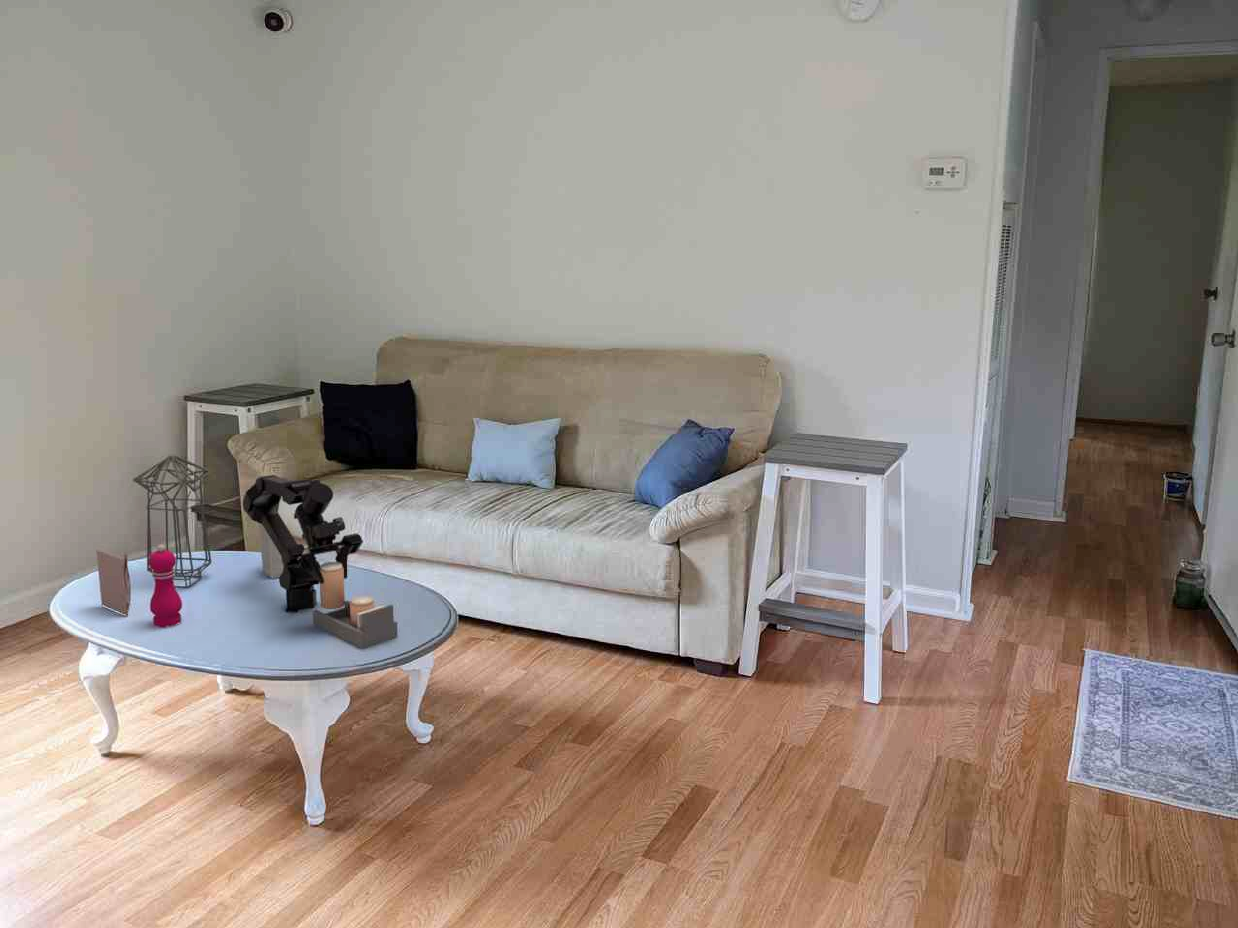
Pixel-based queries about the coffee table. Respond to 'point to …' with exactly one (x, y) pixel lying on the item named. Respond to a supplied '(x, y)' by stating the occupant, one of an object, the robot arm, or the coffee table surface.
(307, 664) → the coffee table surface
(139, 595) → the coffee table surface
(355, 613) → the jar in lane
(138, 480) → the geometric lantern
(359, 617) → the panel
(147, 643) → the coffee table surface
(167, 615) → the pepper mill
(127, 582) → the brown paper bag
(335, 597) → the terracotta jar
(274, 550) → the skincare box
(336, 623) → the tray
